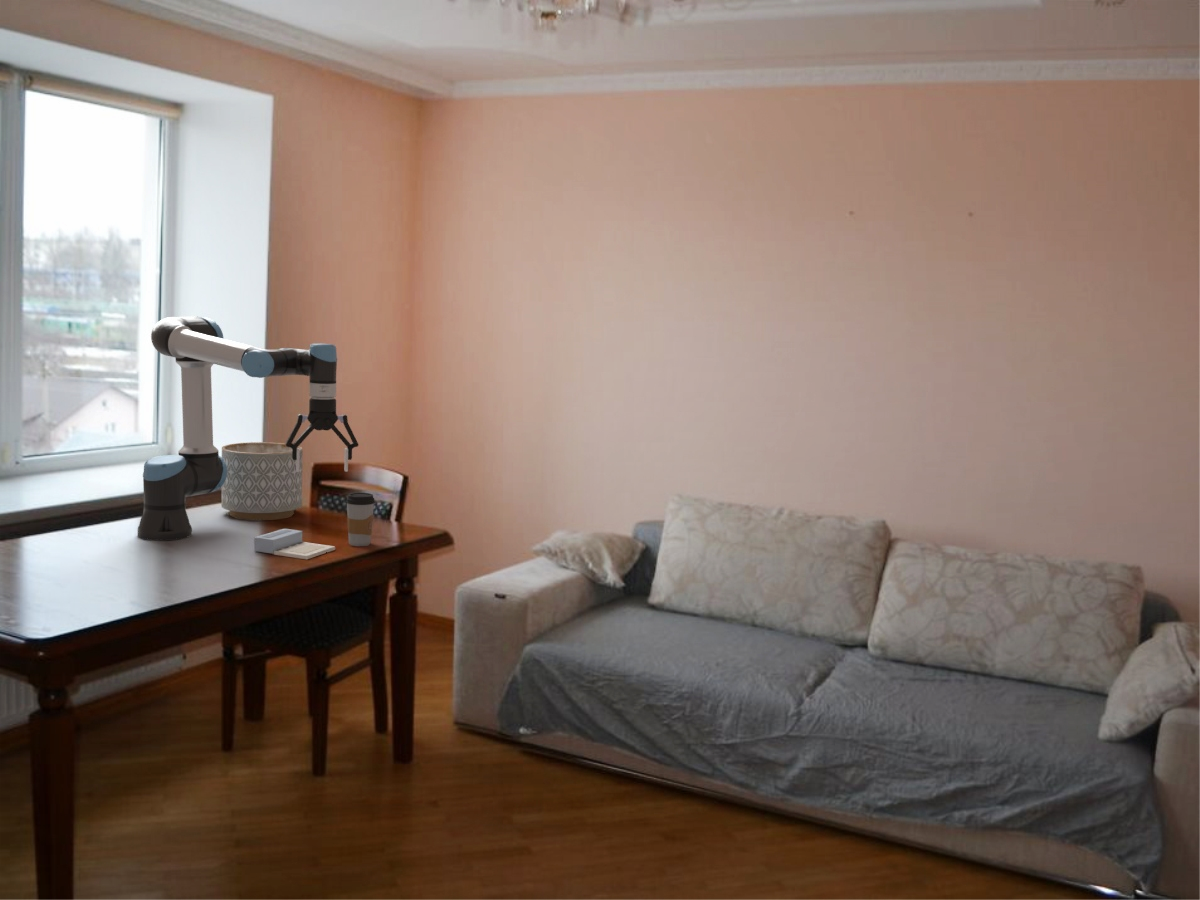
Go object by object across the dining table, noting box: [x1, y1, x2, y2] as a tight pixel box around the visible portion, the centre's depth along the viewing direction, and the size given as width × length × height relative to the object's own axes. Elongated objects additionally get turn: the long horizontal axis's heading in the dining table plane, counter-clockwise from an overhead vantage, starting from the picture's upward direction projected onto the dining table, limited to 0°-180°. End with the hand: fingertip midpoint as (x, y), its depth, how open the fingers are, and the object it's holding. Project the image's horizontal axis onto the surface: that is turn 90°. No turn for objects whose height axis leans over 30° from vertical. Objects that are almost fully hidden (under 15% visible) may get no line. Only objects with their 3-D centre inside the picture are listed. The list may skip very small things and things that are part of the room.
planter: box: [221, 441, 303, 521], centre depth 375 cm, size 26×26×22 cm
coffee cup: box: [345, 492, 376, 547], centre depth 340 cm, size 8×8×15 cm
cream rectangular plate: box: [273, 541, 336, 560], centre depth 328 cm, size 11×14×1 cm
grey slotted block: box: [253, 528, 303, 555], centre depth 330 cm, size 6×14×4 cm, turn 160°
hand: (322, 471), depth 329 cm, fingers open, 13 cm apart
